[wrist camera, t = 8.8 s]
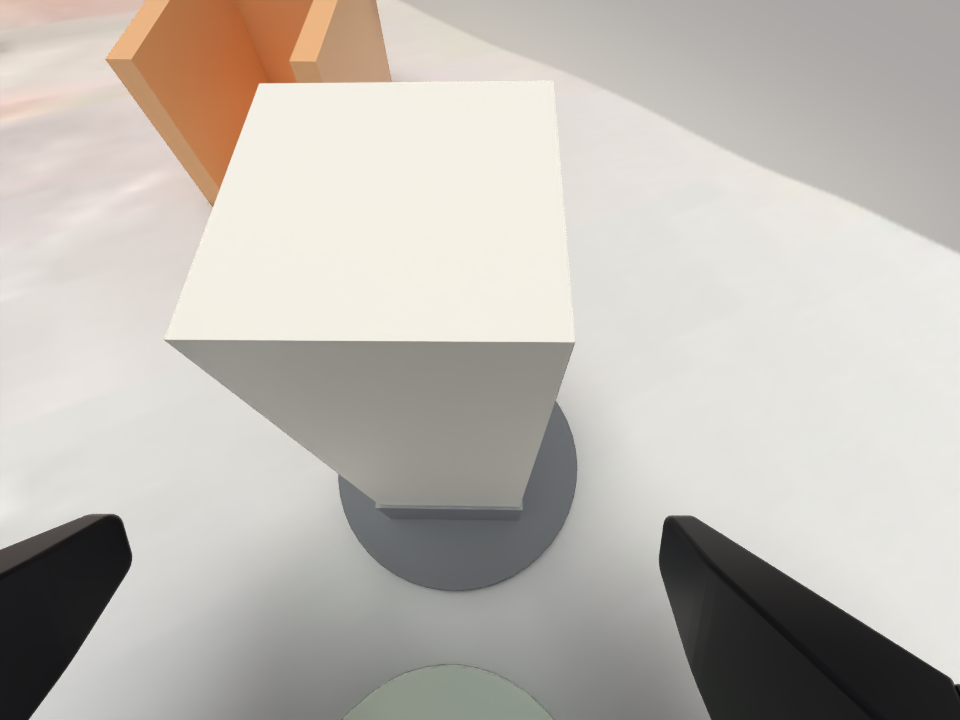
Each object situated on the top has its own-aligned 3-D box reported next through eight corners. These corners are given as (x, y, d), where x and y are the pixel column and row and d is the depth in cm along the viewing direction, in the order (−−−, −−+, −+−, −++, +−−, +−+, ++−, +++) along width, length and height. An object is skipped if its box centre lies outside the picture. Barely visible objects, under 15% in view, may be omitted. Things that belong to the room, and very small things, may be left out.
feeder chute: (267, 94, 29) (194, -69, 22) (394, 96, 28) (362, -70, 21) (218, 215, 24) (105, 59, 17) (368, 219, 24) (315, 61, 17)
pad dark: (619, 518, 17) (624, 514, 16) (393, 640, 16) (388, 643, 15) (507, 330, 21) (508, 321, 20) (315, 413, 19) (309, 407, 19)
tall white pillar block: (518, 520, 16) (585, 350, 5) (390, 518, 17) (152, 347, 5) (516, 399, 18) (559, 76, 7) (402, 399, 19) (253, 79, 7)
